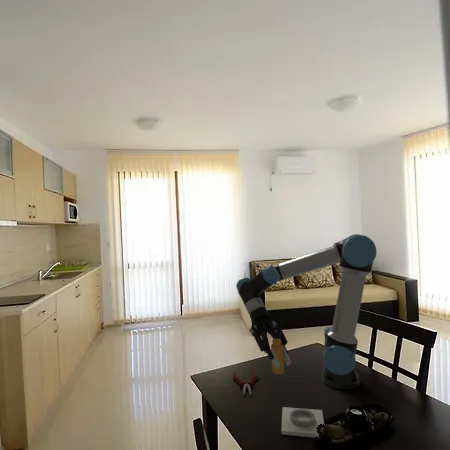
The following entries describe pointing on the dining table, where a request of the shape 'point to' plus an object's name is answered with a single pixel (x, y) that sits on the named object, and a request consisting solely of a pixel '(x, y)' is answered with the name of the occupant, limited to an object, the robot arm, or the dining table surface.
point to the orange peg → (278, 356)
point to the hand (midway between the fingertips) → (283, 365)
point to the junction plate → (301, 421)
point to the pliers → (243, 383)
